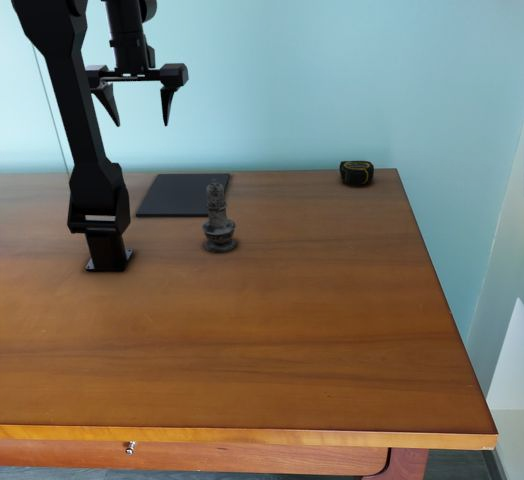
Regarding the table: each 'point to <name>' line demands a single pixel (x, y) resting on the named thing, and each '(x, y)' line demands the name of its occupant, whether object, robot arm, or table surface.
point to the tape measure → (356, 172)
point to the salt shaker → (218, 221)
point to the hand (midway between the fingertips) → (142, 126)
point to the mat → (179, 195)
